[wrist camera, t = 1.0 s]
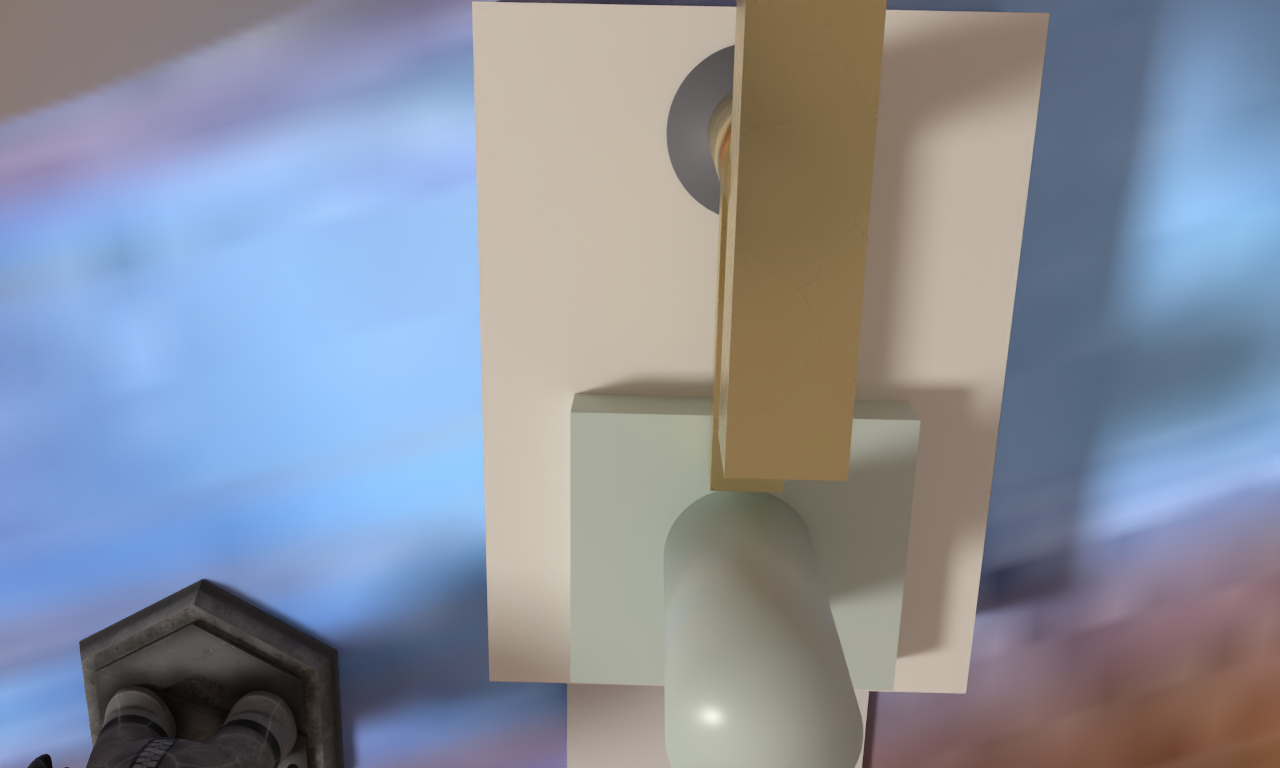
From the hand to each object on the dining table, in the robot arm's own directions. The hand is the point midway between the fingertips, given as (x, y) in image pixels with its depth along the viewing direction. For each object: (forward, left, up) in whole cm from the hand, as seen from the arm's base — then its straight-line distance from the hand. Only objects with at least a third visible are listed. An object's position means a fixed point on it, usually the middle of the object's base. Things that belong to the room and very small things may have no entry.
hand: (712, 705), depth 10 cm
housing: (+4, +2, -25) cm, 25 cm away
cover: (+8, +2, -21) cm, 22 cm away
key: (-1, +2, -20) cm, 20 cm away
